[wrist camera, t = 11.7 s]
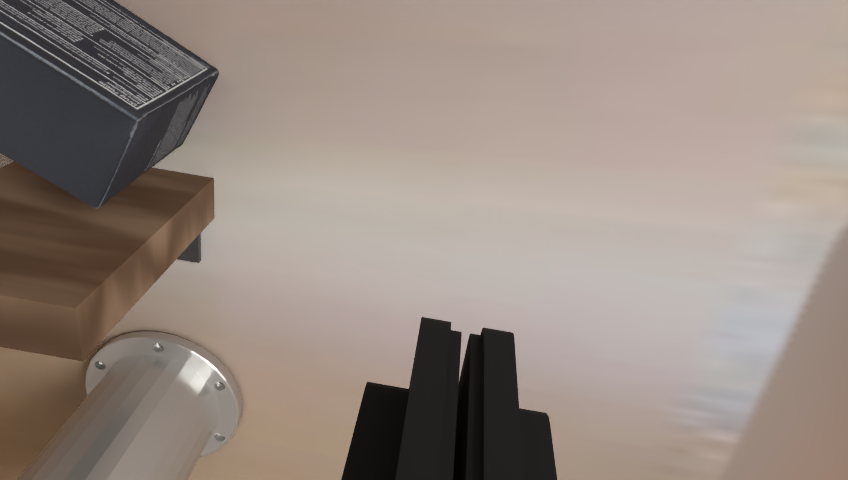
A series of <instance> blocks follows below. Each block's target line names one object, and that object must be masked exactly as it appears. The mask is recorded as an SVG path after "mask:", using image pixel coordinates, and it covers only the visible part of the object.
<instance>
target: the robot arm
mask: <svg viewBox="0 0 848 480" xmlns="http://www.w3.org/2000/svg"><path fill="white" fill-rule="evenodd" d="M460 350H461V332H458V331H452V330H451V322H447V321H442V320H436V319H430V318H424V317H422V318H421V324H420V329H419V335H418V341H417V347H416V352H415V358H414V364H413V369H412V375H411V381H410V387H409V389H405V388H399V387H394V386H388V385H382V384H376V383H371V382H367V384H366V387H365V391H364V394H363V398H362V402H361V406H360V410H359V414H358V418H357V421H356V425H355V429H354V433H353V437H352V441H351V445H350V449H349V452H348V456H347V460H346V464H345V468H344V472H343V476H342V480H557V475H556V468H555V460H554V452H553V444H552V436H551V429H550V422H549V417H548V415H547V414H546V413H543V412H537V411H531V410H525V409H520V408H519V401H518V387H517V373H516V358H515V344H514V334H513V333H511V332H505V331H499V330H494V329H488V328H483V329H482V332H481V335H476V334H470V336H469V340H468V344H467V349H466V353H465V358H464V362H463V367H462V371H461V376H460V380H459V367H460ZM458 384H459V385H458ZM85 387H86V394H87V397H86V398H85V399H84V401H83V402H82V403H81V404H80V405H79V406H78V408H77V409H76V410H75V411H74V412H73V414H72V415H71V416H70V417H69V418H68V420H67V421H66V422H65V423H64V424H63V425H62V427H61V428H60V429H59V430H58V431H57V433H56V434H55V435H54V436H53V437H52V438H51V440H50V441H49V442H48V443H47V444H46V446H45V447H44V448H43V449H42V450H41V451H40V453H39V454H38V455H37V456H36V457H35V459H34V460H33V461H32V462H31V463H30V465H29V466H28V467H27V468H26V469H25V470H24V472H23V473H22V474H21V475H20V476H19V478H18V479H17V480H188V478H189V476H190V474H191V472H192V470H193V469H194V467H195V465H196V463H197V461H198V459H199V457H202V456H206V455H209V454H211V453H213V452H215V451H217V450H219V449H220V448H222V447H223V446H224V445H225V444H227V442H228V441H229V440H230V439H231V437H232V436H233V435H234V433H235V431H236V429H237V427H238V425H239V422H240V418H241V415H242V400H241V396H240V392H239V389H238V387H237V385H236V383H235V380H234V379H233V377H232V376H231V374H230V373H229V372H228V370H227V369H226V367H225V366H224V365H223V364H222V363H221V362H220V361H219V360H218V359H217V358H216V357H214V356H213V355H212V354H210V353H209V352H208V351H206V350H205V349H204V348H202V347H200V346H198V345H196V344H194V343H193V342H191V341H189V340H186V339H183V338H181V337H178V336H175V335H171V334H166V333H162V332H151V331H141V332H132V333H128V334H124V335H121V336H118V337H116V338H114V339H113V340H111V341H109V342H107V343H106V344H105V345H104V346H103V347H102V348H101V349H100V350H99V351H98V352H97V353H96V355H95V356H94V357H93V358H92V359H91V361H90V363H89V366H88V368H87V371H86V377H85Z"/></svg>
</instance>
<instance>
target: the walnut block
mask: <svg viewBox="0 0 848 480" xmlns="http://www.w3.org/2000/svg"><path fill="white" fill-rule="evenodd" d="M213 219H214V178H209V177H203V176H197V175H191V174H185V173H180V172H174V171H168V170H162V169H156V168H150V169H148V170H147V171H146V172H145V173H143V174H142V175H141V176H139V177H138V178H137V179H135V180H134V181H133V182H132V183H130V184H129V185H128V186H126V187H125V188H124V189H122V190H121V191H120V192H119V193H117V194H116V195H115V196H113V197H112V198H111V199H109V200H108V201H107V202H106V203H105V204H103V205H102V206H101V207H100V208H97V209H96V208H94V207H92V206H90V205H89V204H87V203H85V202H84V201H82V200H80V199H78V198H77V197H75V196H73V195H72V194H70V193H68V192H67V191H65V190H63V189H62V188H60V187H58V186H56V185H55V184H53V183H51V182H50V181H48V180H46V179H44V178H43V177H41V176H39V175H38V174H36V173H34V172H32V171H31V170H29V169H27V168H26V167H24V166H22V165H20V164H19V163H17V162H15V161H14V162H12V163H10V164H8V165H6V166H4V167H2V168H0V347H5V348H10V349H16V350H22V351H27V352H33V353H39V354H45V355H50V356H56V357H62V358H67V359H73V360H79V361H83V360H84V359H85V358H86V357H87V356H88V355H89V353H90V352H91V351H92V350H93V349H94V348H95V347H96V346H97V345H98V344H99V343H100V342H101V340H102V339H103V338H104V337H105V336H106V335H107V334H108V333H109V332H110V331H111V330H112V328H113V327H114V326H115V325H116V324H117V323H118V322H119V321H120V320H121V319H122V318H123V317H124V315H125V314H126V313H127V312H128V311H129V310H130V309H131V308H132V307H133V306H134V305H135V303H136V302H137V301H138V300H139V299H140V298H141V297H142V296H143V295H144V294H145V293H146V292H147V290H148V289H149V288H150V287H151V286H152V285H153V284H154V283H155V282H156V281H157V280H158V278H159V277H160V276H161V275H162V274H163V273H164V272H165V271H166V270H167V269H168V268H169V267H170V265H171V264H172V263H173V262H174V261H175V260H176V259H177V258H178V257H179V256H180V255H181V253H182V252H183V251H184V250H185V249H186V248H187V247H188V246H189V245H190V244H191V243H192V242H193V240H194V239H195V238H196V237H197V236H198V235H199V234H200V233H201V232H202V231H203V230H204V228H205V227H206V226H207V225H208V224H209V223H210V222H211V221H212V220H213Z"/></svg>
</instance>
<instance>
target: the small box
mask: <svg viewBox="0 0 848 480" xmlns="http://www.w3.org/2000/svg"><path fill="white" fill-rule="evenodd" d="M218 75H219V72H218V70H217V69H216V68H215V67H213V66H211V65H210V64H208V63H207V62H206V61H204V60H202V59H201V58H200V57H198V56H197V55H195V54H194V53H192V52H191V51H189V50H187V49H186V48H184V47H183V46H181V45H180V44H179V43H177V42H176V41H174V40H172V39H171V38H170V37H168V36H166V35H165V34H163V33H162V32H160V31H159V30H157V29H156V28H155V27H153V26H151V25H150V24H148V23H147V22H145V21H144V20H142V19H141V18H139V17H138V16H136V15H135V14H133V13H132V12H130V11H129V10H127V9H126V8H124V7H123V6H121V5H120V4H118V3H117V2H115V1H114V0H0V153H2V154H3V155H5V156H7V157H8V158H10V159H12V160H14V161H15V162H17V163H19V164H20V165H22V166H24V167H26V168H27V169H29V170H31V171H32V172H34V173H36V174H38V175H39V176H41V177H43V178H44V179H46V180H48V181H50V182H51V183H53V184H55V185H56V186H58V187H60V188H62V189H63V190H65V191H67V192H68V193H70V194H72V195H73V196H75V197H77V198H78V199H80V200H82V201H84V202H85V203H87V204H89V205H90V206H92V207H94V208H96V209H97V208H100V207H101V206H102V205H103V204H105V203H106V202H107V201H108V200H109V199H111V198H112V197H113V196H115V195H116V194H117V193H119V192H120V191H121V190H122V189H124V188H125V187H126V186H128V185H129V184H130V183H132V182H133V181H134V180H135V179H137V178H138V177H139V176H141V175H142V174H143V173H145V172H146V171H147V170H148V169H150V168H151V167H153V166H154V165H155V164H156V163H158V162H159V161H160V160H162V159H163V158H165V157H166V156H167V155H168V154H170V153H171V152H172V151H173V150H175V149H176V148H178V147H180V146H181V145H182V144H183V142H184V140H185V139H186V137H187V135H188V133H189V131H190V129H191V128H192V125H193V123H194V122H195V120H196V118H197V116H198V114H199V112H200V110H201V108H202V106H203V104H204V102H205V100H206V98H207V96H208V94H209V93H210V91H211V89H212V87H213V85H214V83H215V81H216V79H217V77H218Z"/></svg>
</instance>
